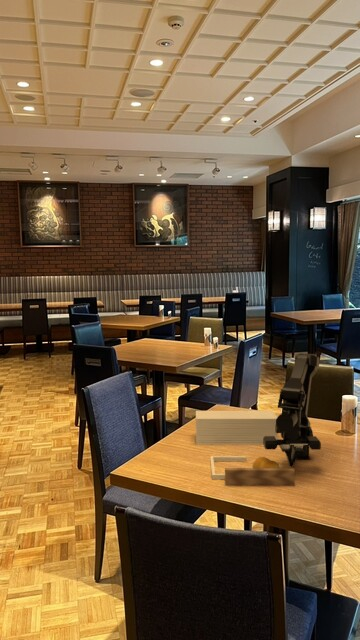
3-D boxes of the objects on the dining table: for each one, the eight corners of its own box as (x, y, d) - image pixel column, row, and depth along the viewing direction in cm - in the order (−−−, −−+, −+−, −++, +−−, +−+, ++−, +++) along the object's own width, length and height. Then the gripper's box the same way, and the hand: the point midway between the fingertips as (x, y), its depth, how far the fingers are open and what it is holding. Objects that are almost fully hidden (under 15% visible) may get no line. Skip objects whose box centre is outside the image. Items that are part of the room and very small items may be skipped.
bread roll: (269, 477, 159) (269, 466, 159) (248, 469, 166) (249, 458, 166) (284, 470, 165) (284, 459, 164) (264, 463, 171) (264, 452, 171)
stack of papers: (196, 445, 189) (196, 418, 188) (195, 435, 200) (195, 410, 199) (277, 445, 189) (278, 418, 188) (272, 435, 199) (273, 410, 198)
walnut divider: (293, 483, 155) (293, 468, 154) (294, 485, 153) (294, 470, 152) (224, 482, 155) (224, 468, 155) (225, 485, 154) (225, 470, 153)
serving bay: (246, 460, 173) (246, 456, 173) (251, 479, 158) (251, 475, 157) (210, 460, 174) (210, 456, 174) (212, 479, 158) (212, 474, 158)
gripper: (313, 415, 171) (312, 457, 173) (260, 415, 172) (260, 457, 173) (321, 425, 160) (320, 470, 162) (265, 425, 161) (265, 470, 162)
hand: (291, 466), depth 165 cm, fingers closed
